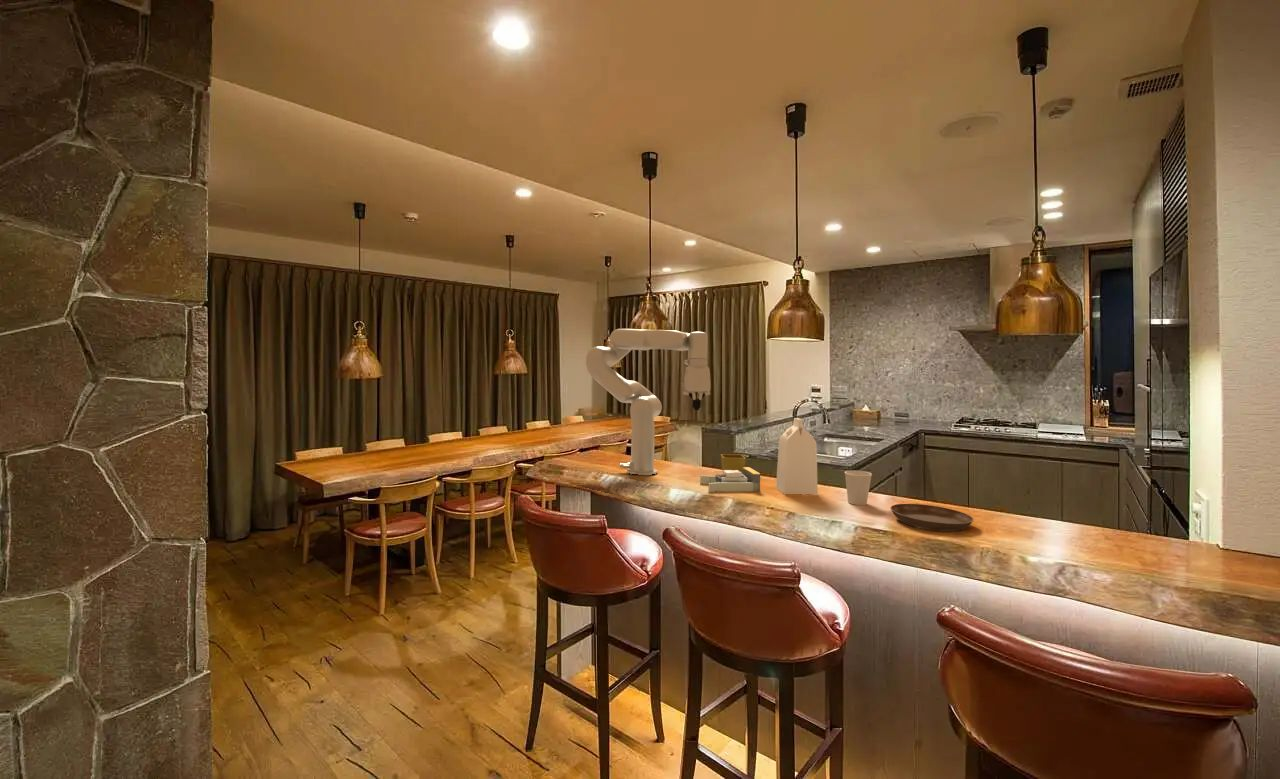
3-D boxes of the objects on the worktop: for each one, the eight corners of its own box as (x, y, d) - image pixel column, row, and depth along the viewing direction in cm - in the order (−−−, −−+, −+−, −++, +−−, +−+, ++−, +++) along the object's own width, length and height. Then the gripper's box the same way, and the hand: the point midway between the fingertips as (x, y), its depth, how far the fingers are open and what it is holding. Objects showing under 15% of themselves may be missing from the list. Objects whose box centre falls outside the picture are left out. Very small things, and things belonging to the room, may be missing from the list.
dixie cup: (854, 506, 167) (855, 475, 166) (838, 500, 175) (839, 470, 175) (877, 505, 169) (878, 474, 169) (859, 499, 177) (860, 470, 177)
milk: (817, 495, 182) (819, 420, 182) (784, 494, 183) (786, 419, 182) (807, 488, 194) (809, 417, 194) (776, 487, 195) (777, 417, 194)
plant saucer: (979, 523, 151) (979, 512, 151) (964, 539, 135) (965, 526, 135) (901, 510, 164) (902, 500, 164) (880, 523, 149) (880, 511, 149)
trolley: (719, 489, 188) (719, 473, 188) (715, 485, 195) (715, 469, 195) (747, 489, 189) (747, 473, 189) (742, 485, 196) (742, 469, 196)
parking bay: (708, 492, 184) (709, 474, 184) (699, 483, 199) (700, 466, 199) (760, 492, 186) (761, 474, 185) (747, 483, 201) (748, 466, 201)
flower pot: (745, 480, 205) (746, 457, 205) (722, 480, 206) (723, 457, 205) (741, 476, 214) (742, 454, 214) (719, 476, 214) (720, 454, 214)
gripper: (680, 362, 204) (679, 410, 204) (718, 363, 205) (717, 410, 206) (677, 363, 211) (676, 409, 212) (713, 364, 213) (712, 409, 213)
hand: (696, 409), depth 209 cm, fingers closed
